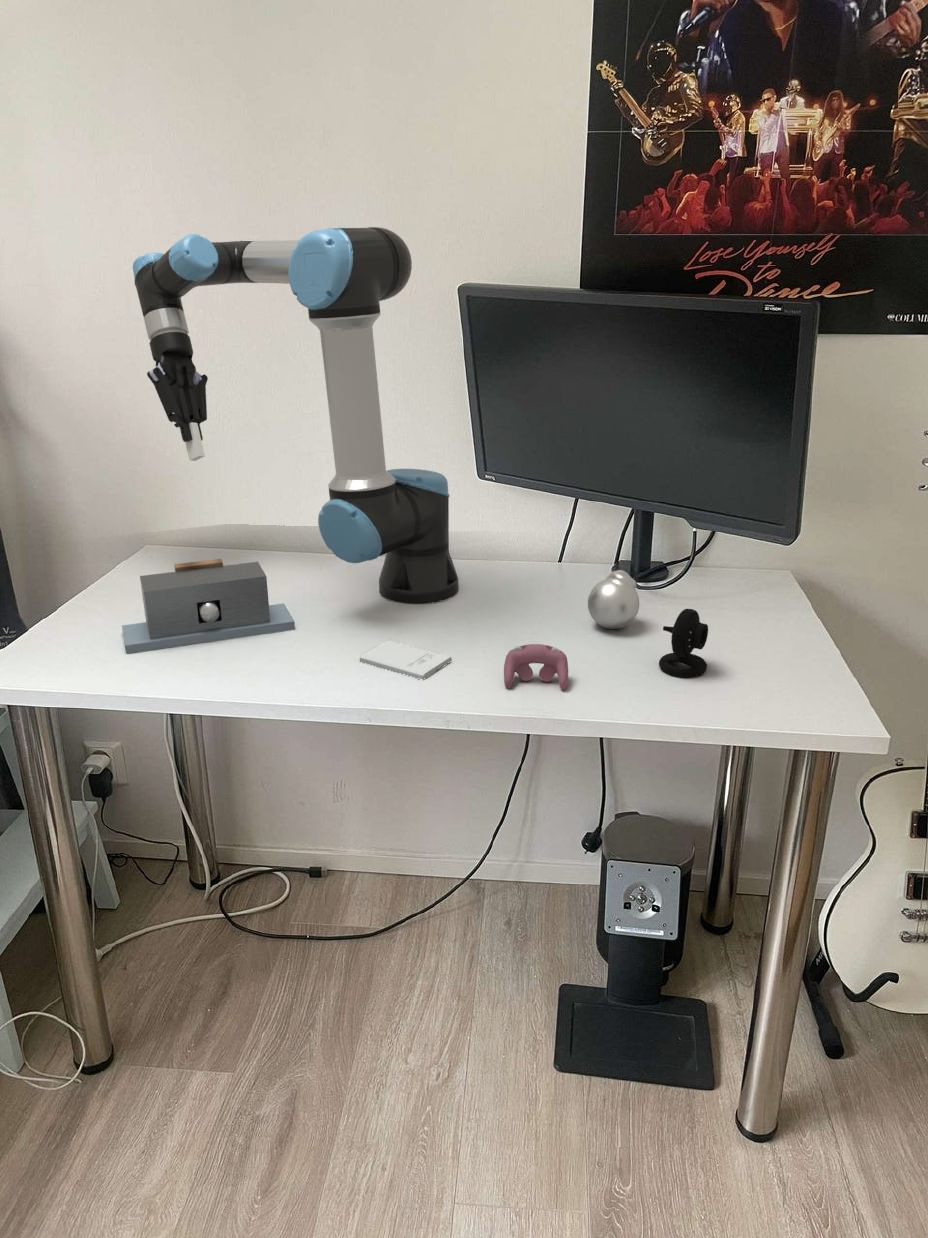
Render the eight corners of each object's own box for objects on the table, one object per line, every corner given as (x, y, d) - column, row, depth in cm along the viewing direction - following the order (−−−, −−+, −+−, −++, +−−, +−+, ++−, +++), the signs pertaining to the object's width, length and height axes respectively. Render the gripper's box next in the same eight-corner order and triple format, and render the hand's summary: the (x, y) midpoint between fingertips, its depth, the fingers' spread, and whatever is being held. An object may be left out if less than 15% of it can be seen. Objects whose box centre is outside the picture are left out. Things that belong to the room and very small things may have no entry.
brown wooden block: (226, 611, 182) (220, 558, 178) (236, 635, 172) (231, 579, 168) (180, 617, 179) (174, 564, 175) (188, 642, 169) (181, 586, 165)
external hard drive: (390, 647, 169) (452, 664, 163) (359, 665, 163) (422, 683, 157) (389, 639, 169) (452, 655, 162) (359, 656, 162) (422, 673, 156)
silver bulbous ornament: (650, 631, 174) (654, 577, 170) (602, 640, 170) (605, 585, 166) (623, 613, 181) (626, 560, 178) (577, 621, 178) (579, 567, 174)
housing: (284, 610, 183) (280, 558, 179) (295, 629, 175) (291, 575, 171) (123, 633, 174) (115, 578, 170) (126, 653, 166) (118, 597, 162)
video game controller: (567, 690, 157) (568, 645, 157) (568, 690, 152) (569, 644, 153) (503, 688, 157) (505, 643, 158) (502, 688, 153) (504, 642, 153)
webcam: (696, 683, 155) (702, 623, 151) (651, 672, 159) (655, 613, 155) (713, 664, 161) (719, 606, 158) (669, 654, 165) (674, 597, 161)
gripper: (183, 349, 198) (210, 465, 197) (128, 340, 187) (156, 463, 186) (208, 335, 194) (236, 453, 192) (154, 324, 183) (183, 450, 182)
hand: (197, 458), depth 189 cm, fingers closed
